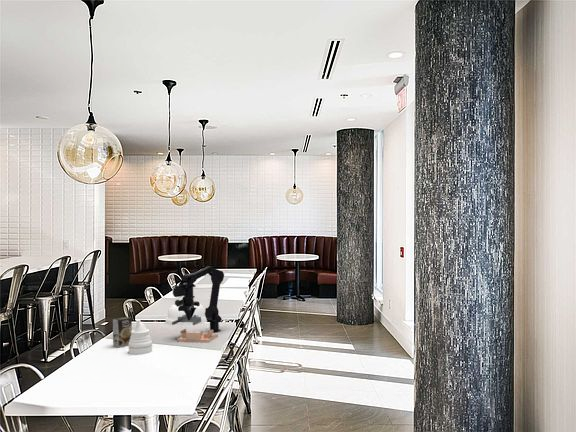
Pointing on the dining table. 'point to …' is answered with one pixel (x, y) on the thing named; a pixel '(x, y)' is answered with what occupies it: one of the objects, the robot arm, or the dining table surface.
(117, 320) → the coffee box
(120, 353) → the dining table surface
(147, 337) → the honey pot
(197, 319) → the glasses frame
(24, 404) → the dining table surface
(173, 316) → the dome cover
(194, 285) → the robot arm
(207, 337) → the display stand
